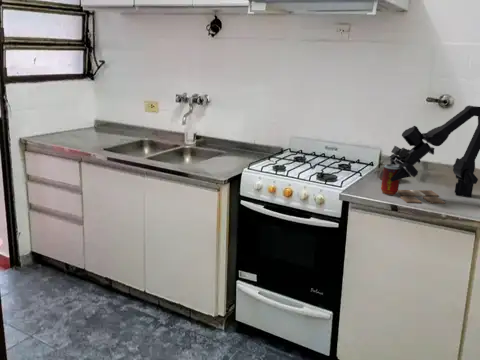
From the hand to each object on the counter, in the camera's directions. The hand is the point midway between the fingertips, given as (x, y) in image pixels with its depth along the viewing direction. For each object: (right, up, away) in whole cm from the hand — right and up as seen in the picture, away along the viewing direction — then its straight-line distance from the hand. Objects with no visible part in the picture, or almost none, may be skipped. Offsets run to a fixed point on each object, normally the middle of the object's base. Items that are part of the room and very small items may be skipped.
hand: (387, 178), depth 214 cm
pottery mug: (+7, -1, +23) cm, 25 cm away
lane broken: (+12, -9, -6) cm, 17 cm away
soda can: (+1, -7, +2) cm, 7 cm away
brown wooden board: (+14, -7, +3) cm, 15 cm away
